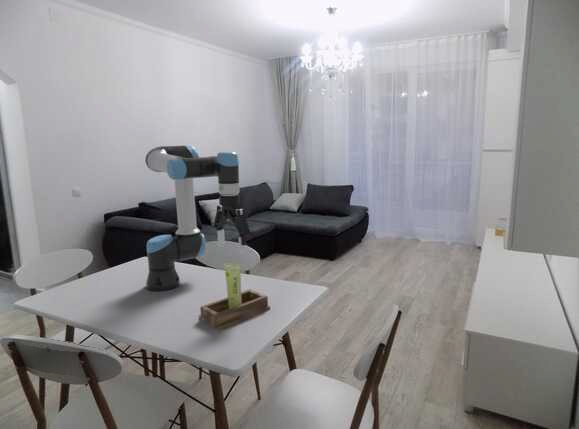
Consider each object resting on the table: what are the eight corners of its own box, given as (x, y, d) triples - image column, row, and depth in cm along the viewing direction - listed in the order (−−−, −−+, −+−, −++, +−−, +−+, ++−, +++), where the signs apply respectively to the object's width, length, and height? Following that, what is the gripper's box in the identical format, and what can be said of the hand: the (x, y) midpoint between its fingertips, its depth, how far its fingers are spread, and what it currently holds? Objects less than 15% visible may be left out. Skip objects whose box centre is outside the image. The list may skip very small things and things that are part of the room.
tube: (228, 314, 150) (225, 266, 147) (226, 309, 155) (223, 262, 151) (243, 312, 152) (240, 264, 148) (240, 307, 157) (238, 260, 153)
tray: (199, 318, 150) (198, 305, 149) (248, 299, 167) (247, 288, 166) (220, 330, 141) (219, 317, 140) (270, 309, 157) (269, 297, 156)
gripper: (202, 192, 151) (205, 245, 155) (241, 199, 133) (244, 258, 138) (218, 190, 156) (221, 241, 160) (258, 196, 139) (260, 254, 143)
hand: (231, 249), depth 149 cm, fingers open, 13 cm apart
